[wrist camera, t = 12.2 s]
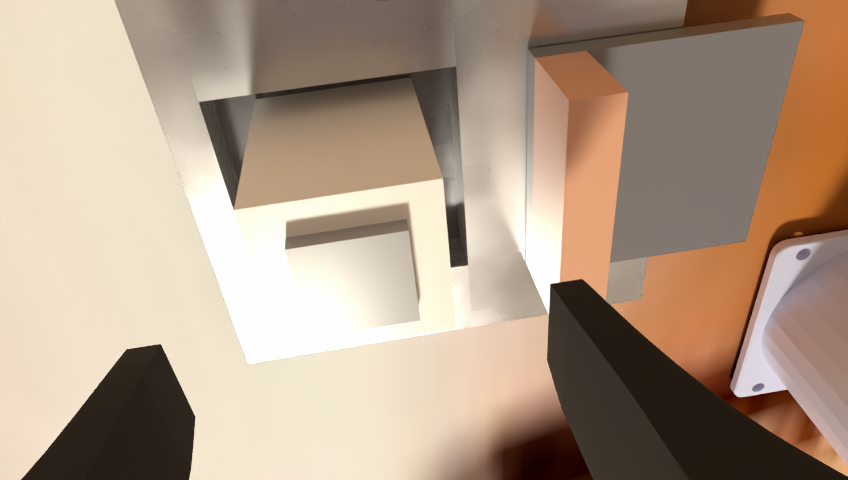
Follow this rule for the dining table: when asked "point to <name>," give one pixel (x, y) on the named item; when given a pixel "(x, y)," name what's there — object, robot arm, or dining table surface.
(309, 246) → the plug
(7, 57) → the dining table surface
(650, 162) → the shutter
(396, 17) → the socket plate
